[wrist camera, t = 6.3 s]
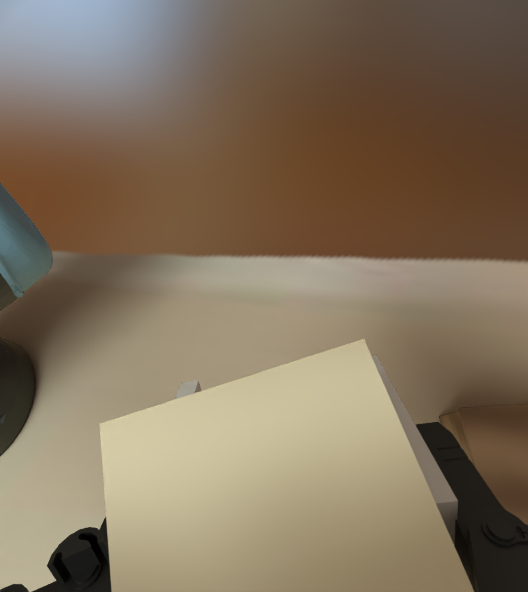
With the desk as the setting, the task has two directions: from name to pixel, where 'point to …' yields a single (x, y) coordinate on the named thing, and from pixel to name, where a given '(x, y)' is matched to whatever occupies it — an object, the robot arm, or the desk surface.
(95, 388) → the desk surface
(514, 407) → the walnut box
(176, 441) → the oak block
